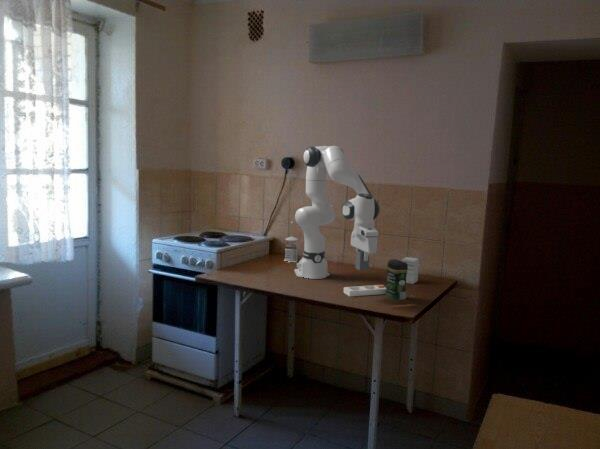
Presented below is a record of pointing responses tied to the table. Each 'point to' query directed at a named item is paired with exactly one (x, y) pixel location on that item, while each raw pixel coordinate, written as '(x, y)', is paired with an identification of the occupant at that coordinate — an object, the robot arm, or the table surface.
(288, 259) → the french press
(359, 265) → the block
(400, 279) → the coffee jar
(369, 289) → the power strip
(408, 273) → the supplement box
